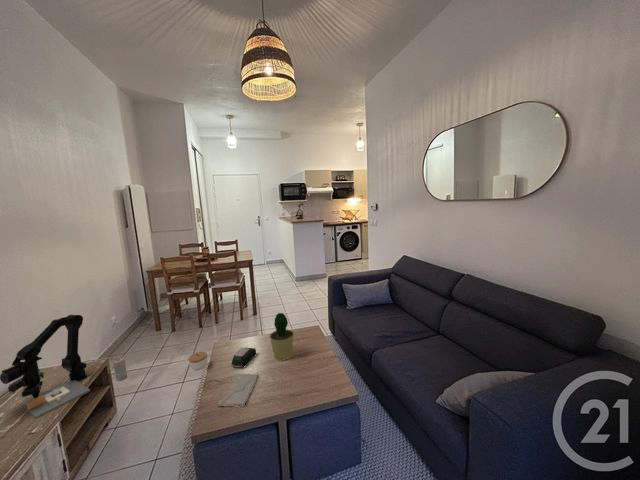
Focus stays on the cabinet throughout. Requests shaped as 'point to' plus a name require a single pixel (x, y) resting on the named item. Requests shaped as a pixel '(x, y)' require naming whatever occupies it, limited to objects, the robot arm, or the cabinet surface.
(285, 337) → the potted cactus
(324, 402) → the cabinet surface
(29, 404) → the brown white angular piece
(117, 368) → the energy drink
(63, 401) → the slate board
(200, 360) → the lidded jar
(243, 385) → the envelope
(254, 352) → the miniature car
